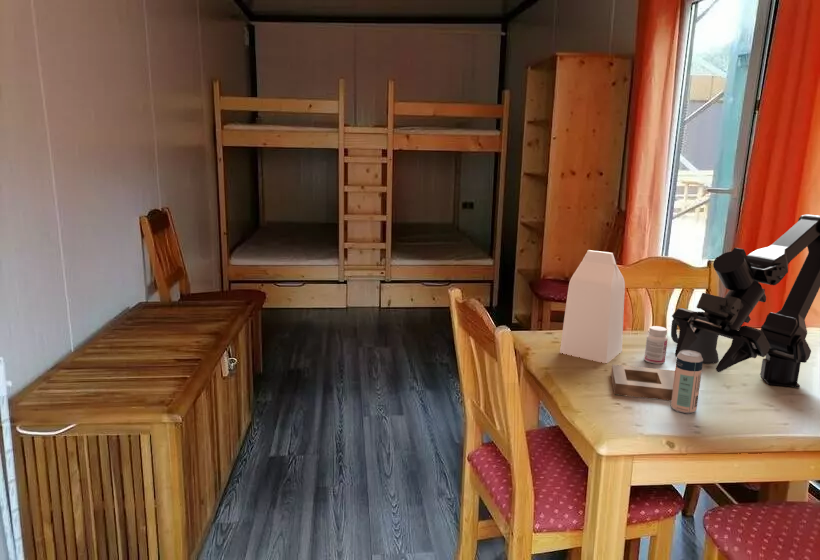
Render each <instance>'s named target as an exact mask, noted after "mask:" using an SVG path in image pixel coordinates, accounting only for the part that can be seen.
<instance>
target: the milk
mask: <svg viewBox="0 0 820 560" xmlns="http://www.w3.org/2000/svg"><path fill="white" fill-rule="evenodd" d="M625 291H626V282H625V278H624V275H623V274H622V272H621V271H620V268H619V266H618V265H617V261H616V258H615V256H614V252H609V251H599V250H591V249H588V250H587V252H586V253H585V255H584V256H583V258H582V261H580V263H579V265H578V266H577V268H576V269H575V271H574V272H573V274H572V276H571V278H570V280H569V283H568V289H567V295H566V297H567V298H566V303H565V310H564V318H563V325H562V332H561V342H560V348H559V354H562V353H563V355H566V354H567V356H571V355H572V357H575V358H579V357H580V359H584V360H589V361H592V360H593V362H598V363H601V362H602V363H601V364H605V363H607V364H608V363H610V362H611V361H612V360H613V359H614V358H616V357H617V356H619V353H620V354H621V353H623V338H624V337H623V335H624V314H625V310H624V309H625Z"/></svg>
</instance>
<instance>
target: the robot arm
mask: <svg viewBox="0 0 820 560" xmlns="http://www.w3.org/2000/svg"><path fill="white" fill-rule="evenodd" d="M806 248H807V251H808V253H807V255H806V258H805V259H804V262H803V264H802V266H801V268H800V270H799V272H798V274H797V276H796V278H795V280H794V283H793V284H792V286H791V289H790V291H789V292H788V295H787V297H786V299H785V301H784V304H783V305H782V308H781V309H779V310H778V311H777V312H771V311H769V313H768V314H767V315H766V318H765V320H764V322H763V324H762V325H761V326H760V329H758V328H755V327H752V326H749V325H748V326H747V325H743V324H744V323H747V324H749V323H750V321H751V320H752V319H751V317H750V314H751V313H752V312H753V310H754V308H755V307H756V306H757V305H758V303H759V302H761V303H766V302H767V295H766V289H765V288H763V286H762V284H766V285H770V286H776V285H778V284H779V283H780V282H781V281H783V279H784V278H785V276H786V275H787V274H788V273H789V264H790V263H791V262H792V260H794V259H795V258H796V257H797V256H798V255H799V254H801V252H803V250H805V249H806ZM712 267H713V270H714V271H715V272H716V274H717V276H718V278H719V280H720V282H721V284H722V285H723V287H724V289H727V290H728V291H727V292H726V293H725V295H724V297H723V296H718V295H714V294H709V293H706V292H702V293H701V296H700V298H699V301H698V302H697V305H696V308H697V309H699V310H700V309H701V310H702V311H703V312H705V313H704V316H705V317H706V318H708V321H703V320H700V318H699V317H698V315H697V313H696V312H697V311H694V310H691V309H687V308H683V307H681V308H677V309H675V310H674V312H673V314H672V315H671V317H672V320H673V319H674V320H675V322H676V323H677V328H678V329H679V333H678V338H679V339H678V343H676V347H675V353H674V356H675V357H676V358H677V355H678V353H679V352H680V351H682V350H687V349H688V348H689V347H690V346H691V345H692V344H693V343H694V342H695V340H696V339H697V336H696V335H697V334H700V332H701V331H702V330H704V331H707V332H710V333H714V334H717V335H719V336H720V337H724V338H728V339H730V340H732V341H731V345H730V347H729V348H728V349H727V351H726V352H725V353H724V354H723V356H722V358H721V359H720V361H718V362H717V363H718V364H717V365H716V367H715V370H716V372H717V373H721V372H723V371H725V370H727V369H728V368H731V367H732V366H734V365H737V364H739V363H741V362H743V361H747V360H749V359H751V358H753V359H756V358H757V357H762V361H761V368H760V374H759V375H760V377H761V378H762V379H763V380H764V382H765V383H766V384H767V385H771V386H779V387H780V386H781V387H791V388H796V389H797V388H800V387H801V384H800V383H798V381H799V373H800V368H801V363H808V362H807V361H808V360H809V358H810V357H811V354H812V350H811V347H810V345H809V343H808V342H807V340H806V338H807V335H808V329H807V324H806V317H807V315H808V313H809V311H810V309H811V307H812V305H813V303H814V301H815V298H816V296H817V294H818V293H819V290H820V215H817V214H816V215H815V214H808V213H806V214H802V215H800V217H799V218H798V220H797V222H796V223H795V224H793V225H792V227H790V228H789V229H788V230H787V231H785V232H784V234H782V235H781V236H780V237H778V238H777V239H776V240H775V241H774V242H773V243H772V244H770V245H769V246H765V247H762V248H757V249H755V250H754V251H751V252H750V253H749V254H747V253H746V251H745V249H743V248H739V247H734V248H733V249H732V250H731V251H727V252H724V253H722V254H720V255H718V256H716V258H715V259H714V261H713V264H712Z"/></svg>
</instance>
